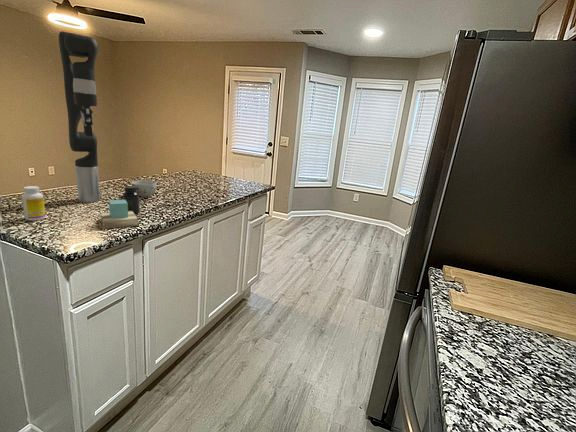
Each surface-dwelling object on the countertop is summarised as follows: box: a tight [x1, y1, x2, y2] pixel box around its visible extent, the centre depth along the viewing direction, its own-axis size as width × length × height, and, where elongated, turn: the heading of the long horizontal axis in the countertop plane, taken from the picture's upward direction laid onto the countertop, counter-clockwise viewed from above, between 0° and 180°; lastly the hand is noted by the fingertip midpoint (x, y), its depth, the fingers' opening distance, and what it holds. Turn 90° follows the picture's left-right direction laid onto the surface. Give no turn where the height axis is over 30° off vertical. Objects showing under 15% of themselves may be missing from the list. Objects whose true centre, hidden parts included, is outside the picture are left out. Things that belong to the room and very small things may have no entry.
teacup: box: [131, 179, 157, 198], centre depth 172 cm, size 15×12×8 cm
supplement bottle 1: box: [21, 185, 47, 222], centre depth 122 cm, size 7×7×13 cm
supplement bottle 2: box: [122, 185, 141, 215], centre depth 143 cm, size 7×7×12 cm
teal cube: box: [108, 199, 128, 218], centre depth 128 cm, size 6×6×6 cm
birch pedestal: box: [100, 211, 139, 229], centre depth 129 cm, size 12×12×3 cm
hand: (88, 135), depth 125 cm, fingers open, 8 cm apart
